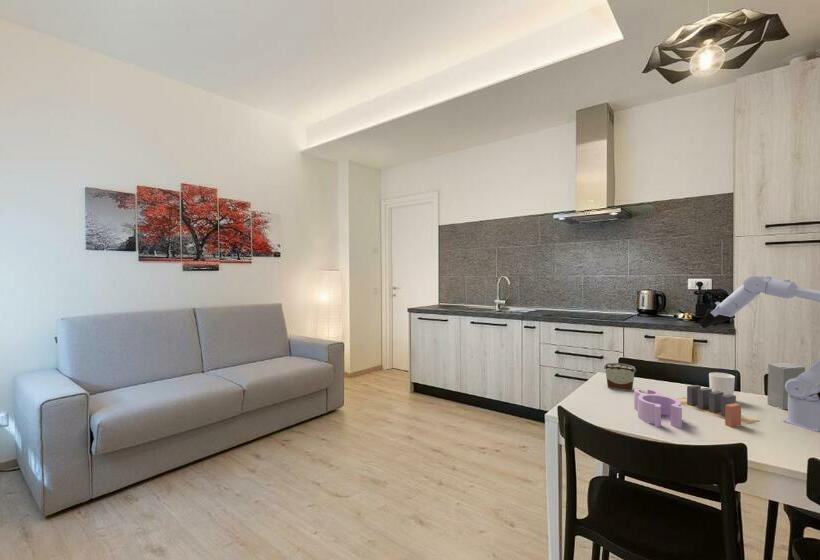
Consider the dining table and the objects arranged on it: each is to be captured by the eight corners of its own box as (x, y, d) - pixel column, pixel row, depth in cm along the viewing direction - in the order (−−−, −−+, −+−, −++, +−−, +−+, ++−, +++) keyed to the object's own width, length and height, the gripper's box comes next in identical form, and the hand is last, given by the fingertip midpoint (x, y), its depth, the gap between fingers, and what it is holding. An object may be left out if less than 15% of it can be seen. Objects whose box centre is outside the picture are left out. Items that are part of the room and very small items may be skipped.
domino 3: (723, 411, 140) (723, 392, 140) (714, 413, 139) (714, 393, 139) (718, 410, 142) (718, 390, 142) (709, 411, 141) (709, 392, 141)
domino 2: (711, 408, 144) (711, 389, 144) (702, 409, 143) (702, 390, 143) (706, 406, 146) (706, 387, 146) (697, 408, 144) (697, 389, 144)
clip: (625, 406, 149) (625, 388, 149) (661, 407, 147) (661, 389, 147) (648, 427, 129) (648, 406, 129) (690, 429, 127) (690, 408, 127)
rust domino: (740, 426, 129) (740, 404, 128) (731, 428, 127) (731, 406, 127) (734, 424, 130) (734, 403, 130) (725, 426, 129) (725, 404, 129)
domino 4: (735, 415, 137) (735, 395, 136) (726, 417, 135) (726, 397, 135) (730, 413, 138) (730, 394, 138) (721, 415, 137) (721, 395, 137)
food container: (636, 387, 171) (636, 364, 171) (636, 391, 166) (636, 367, 165) (605, 383, 177) (605, 361, 177) (603, 387, 172) (603, 364, 172)
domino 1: (700, 404, 148) (700, 386, 148) (691, 406, 147) (691, 387, 146) (695, 403, 150) (695, 384, 150) (687, 404, 148) (687, 386, 148)
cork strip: (760, 422, 132) (760, 421, 132) (742, 425, 129) (742, 424, 129) (684, 398, 156) (684, 397, 156) (667, 400, 153) (667, 400, 153)
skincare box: (787, 403, 149) (787, 361, 148) (806, 410, 142) (807, 366, 141) (765, 403, 148) (765, 362, 148) (784, 410, 141) (784, 367, 141)
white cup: (725, 397, 156) (725, 372, 156) (739, 404, 149) (740, 378, 148) (704, 397, 157) (704, 372, 157) (717, 403, 149) (717, 377, 149)
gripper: (736, 292, 151) (708, 315, 159) (716, 295, 144) (688, 319, 152) (752, 306, 146) (723, 329, 155) (733, 309, 140) (704, 333, 148)
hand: (707, 325), depth 153 cm, fingers open, 7 cm apart
